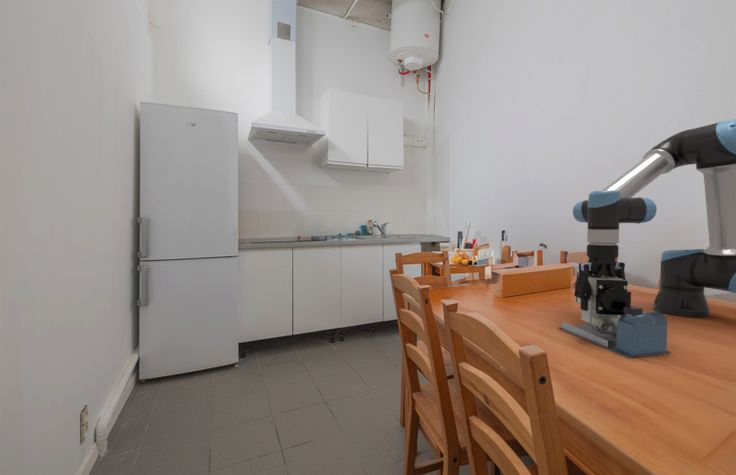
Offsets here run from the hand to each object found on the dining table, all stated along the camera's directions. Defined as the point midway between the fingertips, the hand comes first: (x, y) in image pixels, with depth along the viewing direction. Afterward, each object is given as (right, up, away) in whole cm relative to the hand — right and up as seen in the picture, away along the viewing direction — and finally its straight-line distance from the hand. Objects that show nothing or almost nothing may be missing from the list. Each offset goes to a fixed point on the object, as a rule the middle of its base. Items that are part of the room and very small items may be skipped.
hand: (600, 320), depth 97 cm
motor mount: (+1, -5, -2) cm, 6 cm away
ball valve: (0, -3, 0) cm, 3 cm away
